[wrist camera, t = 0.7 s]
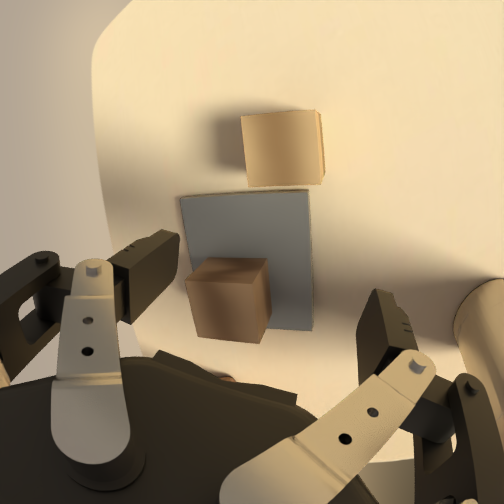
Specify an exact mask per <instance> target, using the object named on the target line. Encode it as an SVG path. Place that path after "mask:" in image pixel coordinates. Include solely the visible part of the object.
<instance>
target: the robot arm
mask: <svg viewBox="0 0 504 504" xmlns="http://www.w3.org/2000/svg"><path fill="white" fill-rule="evenodd" d="M179 243H180V236H179V234H177V233H174V232H170V231H167V230H163V229H161V230H159V231H158V232H156V233H155V234H153V235H152V236H150V237H146V238H142V239H139V240H136V241H135V242H133V243H132V244H130V245H129V246H127V247H126V248H124V249H123V250H121V251H119V252H118V253H116V254H115V255H114V256H112V257H111V258H109V259H108V260H102V259H88V260H84V261H82V262H80V263H78V264H77V266H76V267H75V269H74V268H68V267H62V266H60V260H59V256H58V254H56V253H55V252H51V251H40V252H37V253H34V254H32V255H30V256H28V257H27V258H25V259H24V260H22V261H20V262H19V263H17V264H16V265H14V266H13V267H11V268H9V269H8V270H6V271H5V272H3V273H2V274H1V275H0V504H379V503H378V501H377V500H376V499H375V497H374V496H373V495H372V493H371V492H370V490H369V489H368V488H367V487H366V485H365V483H364V482H363V481H362V479H361V478H360V476H359V475H358V473H359V472H360V471H361V469H363V467H364V466H365V465H366V464H367V463H368V462H369V461H370V460H371V459H372V458H373V457H374V456H375V455H376V453H377V452H378V451H379V450H380V449H381V448H382V447H383V445H384V444H385V443H386V442H387V441H388V440H389V438H390V437H391V436H392V435H393V434H394V432H395V431H396V430H397V429H398V428H400V429H403V430H405V431H407V432H410V433H412V434H413V442H414V463H415V464H414V465H415V504H504V279H496V280H492V281H488V282H486V283H484V284H482V285H481V286H479V287H478V288H476V289H475V290H474V291H473V292H471V293H470V294H469V295H468V296H467V298H466V299H465V300H464V301H463V303H462V304H461V306H460V308H459V309H458V311H457V314H456V317H455V320H454V326H453V328H454V336H455V339H456V341H457V345H458V347H459V349H460V352H461V355H462V358H463V361H464V364H465V367H466V370H467V373H462V374H459V375H458V376H457V377H456V379H455V380H454V381H453V382H451V381H448V380H446V379H444V378H442V377H439V376H437V375H435V374H436V367H435V365H434V363H433V361H432V360H431V359H430V358H429V357H428V356H426V355H425V354H423V353H422V352H419V350H418V347H417V344H416V340H415V337H414V334H413V333H412V332H413V331H412V328H411V326H410V322H409V319H408V316H407V315H406V314H405V312H404V311H403V310H402V309H401V308H399V307H397V306H396V303H395V300H394V296H393V294H392V293H390V292H387V291H383V290H379V289H376V288H375V289H374V290H373V291H372V293H371V295H370V297H369V299H368V302H367V304H366V306H365V309H364V311H363V313H362V315H361V318H360V320H359V322H358V326H357V330H356V344H357V359H358V380H359V387H358V388H357V389H355V390H354V391H353V392H352V393H351V394H350V395H348V396H347V397H346V398H345V399H343V400H342V401H341V402H340V403H339V404H337V405H336V406H335V407H334V408H332V409H331V410H330V411H328V412H327V413H326V414H325V415H323V416H322V417H321V418H319V419H317V418H316V417H315V416H313V415H312V414H311V413H309V412H308V411H306V410H305V409H303V408H301V407H299V406H297V405H296V400H297V394H295V393H291V392H287V391H283V390H280V389H276V388H272V387H268V386H265V385H259V384H249V383H239V382H231V381H224V380H221V379H219V378H218V377H216V376H214V375H212V374H211V373H209V372H207V371H206V370H204V369H202V368H201V367H199V366H197V365H196V364H194V363H192V362H190V361H188V360H185V359H182V358H180V357H177V356H174V355H172V354H169V353H167V352H164V351H162V350H158V352H157V353H156V354H155V356H154V357H153V358H149V357H124V358H120V351H119V344H118V333H117V322H119V321H120V320H121V321H123V322H125V323H128V324H130V325H131V324H132V323H133V322H134V321H135V320H136V319H137V318H138V317H139V316H140V315H141V314H142V313H143V312H144V311H145V310H146V308H147V307H148V306H149V305H150V304H151V303H152V302H153V301H154V300H155V299H156V298H157V297H158V296H159V295H160V294H161V293H162V292H163V291H164V290H165V289H166V288H167V287H168V286H169V285H170V284H171V282H172V281H173V280H174V278H175V275H176V272H177V266H178V254H179ZM31 296H33V300H34V304H35V309H34V310H32V311H31V312H30V313H29V314H28V315H27V316H25V317H24V318H23V319H22V320H21V321H19V317H18V312H19V308H20V306H21V305H22V304H23V303H24V302H25V301H27V300H28V299H29V298H30V297H31ZM59 332H60V337H59V348H58V360H57V374H56V375H55V376H51V377H46V378H42V379H38V380H34V381H29V382H25V383H21V384H16V385H11V386H10V382H12V380H13V379H14V378H15V377H16V376H17V375H18V374H19V373H20V372H21V371H22V370H23V369H24V368H25V366H26V365H27V364H28V363H29V362H30V361H31V360H32V359H33V358H34V357H35V356H36V355H37V354H38V353H39V352H40V351H41V350H42V349H43V348H44V347H45V346H46V345H47V343H49V342H50V341H51V340H52V339H53V337H55V336H56V335H57V334H58V333H59ZM454 434H456V440H457V445H456V449H455V451H454V453H453V449H452V442H451V437H452V436H453V435H454Z"/></svg>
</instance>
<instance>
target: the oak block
mask: <svg viewBox="0 0 504 504" xmlns="http://www.w3.org/2000/svg"><path fill="white" fill-rule="evenodd" d="M240 117H241V126H242V135H243V144H244V153H245V162H246V171H247V180H248V187H266V186H290V185H321V183H322V180H323V177H324V174H325V161H324V147H323V135H322V123H321V114H320V113H319V112H317V111H316V110H300V111H287V112H276V113H266V114H256V115H248V116H240Z"/></svg>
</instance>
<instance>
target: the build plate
mask: <svg viewBox="0 0 504 504" xmlns="http://www.w3.org/2000/svg"><path fill="white" fill-rule="evenodd" d="M180 203H181V209H182V215H183V221H184V227H185V232H186V238H187V243H188V249H189V254H190V259H191V264H192V269H193V272H194V271H195V270H196V269H197V268H198V267H199V266H200V265H201V264H202V263H203V262H204V261H205V260H206V259H207V258H208V257H222V258H267V260H268V271H269V281H270V293H271V304H272V315H271V317H270V320H269V322H268V325H267V327H266V328H270V329H284V330H301V331H312V328H313V274H312V242H311V219H310V201H309V190H291V191H264V192H244V193H227V194H211V195H197V196H185V197H183V198H181V199H180Z"/></svg>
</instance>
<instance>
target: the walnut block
mask: <svg viewBox="0 0 504 504" xmlns="http://www.w3.org/2000/svg"><path fill="white" fill-rule="evenodd" d="M185 284H186V289H187V293H188V298H189V302H190V306H191V311H192V315H193V319H194V323H195V327H196V331H197V335H198V337H203V338H210V339H218V340H227V341H235V342H245V343H255V344H260V342H261V339H262V337H263V334H264V332H265V330H266V327H267V325H268V322H269V320H270V317H271V315H272V304H271V293H270V281H269V271H268V260H267V258H222V257H208V258H207V259H206V260H205V261H204V262H203V263H202V264H201V265H200V266H199V267H198V268H197V269H196V270H195V271H194V272H193V273H192V274H191V275H190V276H189V277H188V278H187V279H186V280H185Z"/></svg>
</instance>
